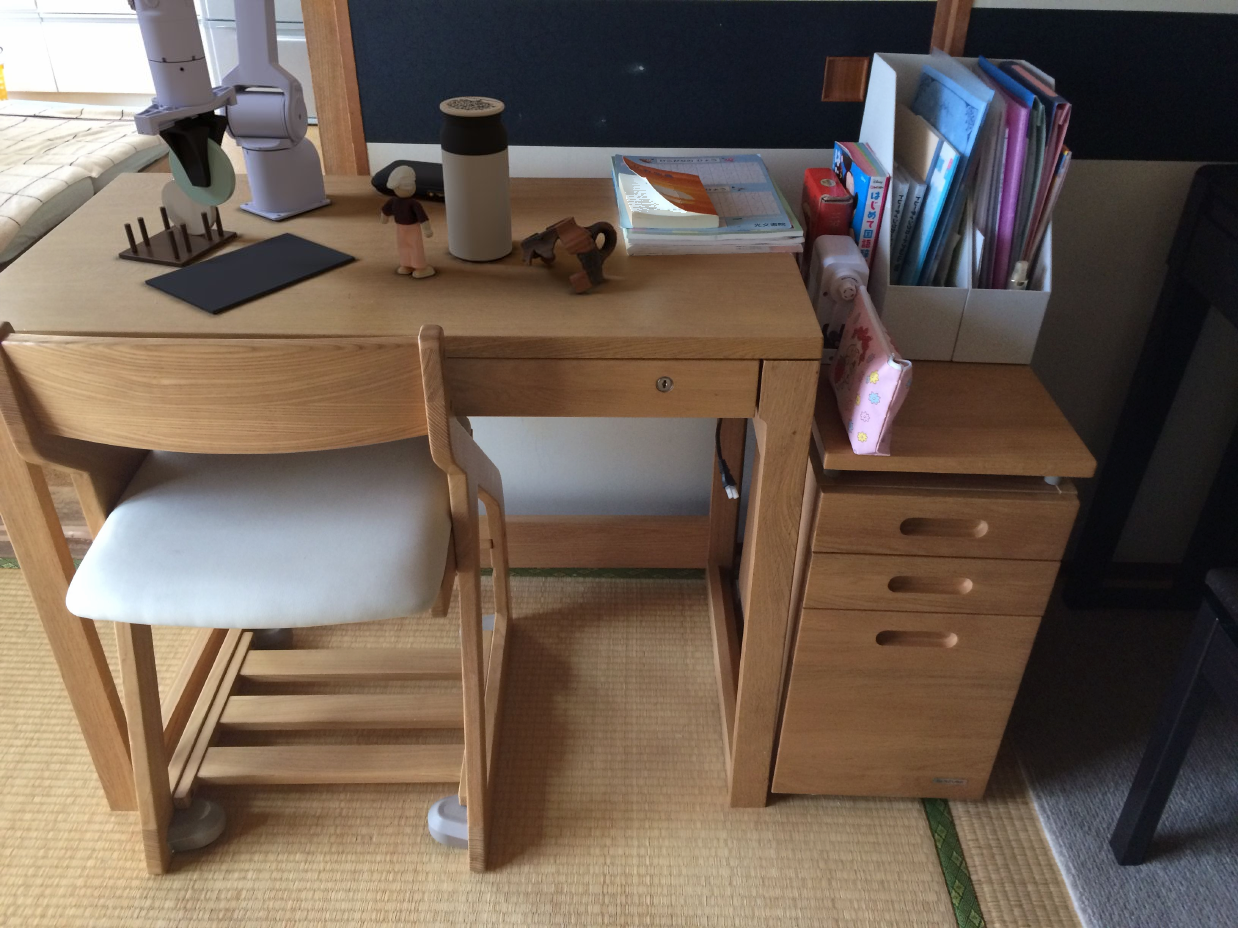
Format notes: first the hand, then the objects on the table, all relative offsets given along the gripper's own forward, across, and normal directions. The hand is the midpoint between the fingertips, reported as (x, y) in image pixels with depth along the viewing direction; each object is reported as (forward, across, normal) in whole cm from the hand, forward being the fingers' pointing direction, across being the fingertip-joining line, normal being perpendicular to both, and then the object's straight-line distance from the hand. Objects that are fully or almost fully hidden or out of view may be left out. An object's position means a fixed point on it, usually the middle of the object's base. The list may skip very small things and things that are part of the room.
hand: (205, 184), depth 107 cm
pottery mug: (+10, -11, +41) cm, 43 cm away
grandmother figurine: (+10, -6, +22) cm, 25 cm away
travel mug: (+10, -15, +27) cm, 33 cm away
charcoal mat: (+10, 0, +4) cm, 11 cm away
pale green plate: (-2, 0, 0) cm, 2 cm away
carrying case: (+10, -34, +10) cm, 37 cm away
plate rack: (+10, -4, -9) cm, 14 cm away
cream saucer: (+6, -7, -9) cm, 13 cm away
